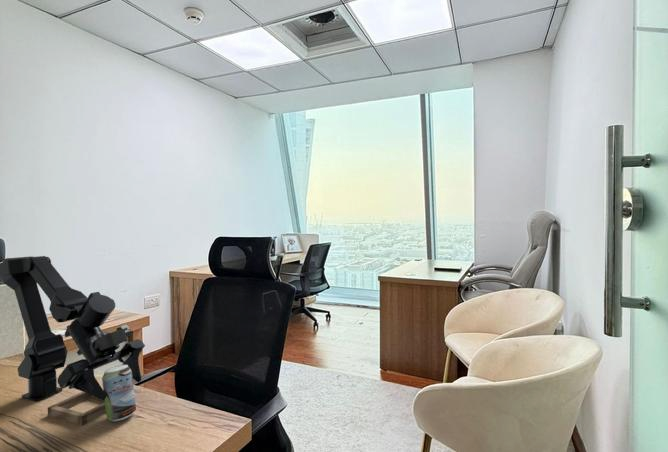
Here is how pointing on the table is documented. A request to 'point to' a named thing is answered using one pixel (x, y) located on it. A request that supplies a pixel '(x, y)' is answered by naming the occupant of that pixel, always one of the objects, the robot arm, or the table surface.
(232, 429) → the table surface
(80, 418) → the walnut collar
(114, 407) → the beverage can
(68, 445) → the table surface
